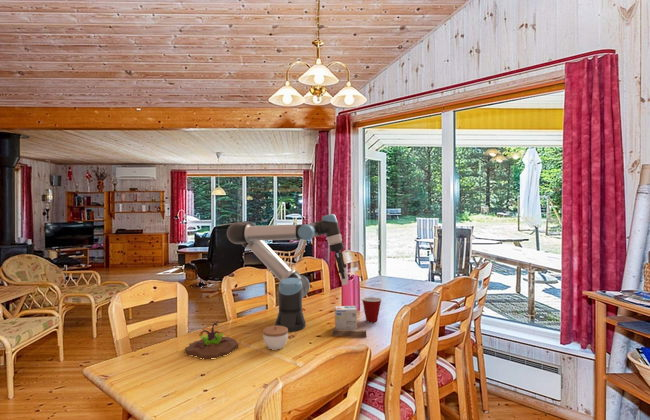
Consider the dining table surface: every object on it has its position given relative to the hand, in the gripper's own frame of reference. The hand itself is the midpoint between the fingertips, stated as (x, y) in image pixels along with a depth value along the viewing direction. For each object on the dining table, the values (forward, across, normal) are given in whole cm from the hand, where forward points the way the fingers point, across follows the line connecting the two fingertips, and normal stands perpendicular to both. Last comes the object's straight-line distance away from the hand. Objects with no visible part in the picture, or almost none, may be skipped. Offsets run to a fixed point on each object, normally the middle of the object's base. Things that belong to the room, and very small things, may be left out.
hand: (345, 282), depth 190 cm
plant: (+8, -41, +59) cm, 72 cm away
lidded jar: (+14, -37, +34) cm, 52 cm away
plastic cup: (+23, +2, -8) cm, 25 cm away
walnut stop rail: (+21, -21, +3) cm, 30 cm away
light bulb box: (+20, -12, +5) cm, 24 cm away
